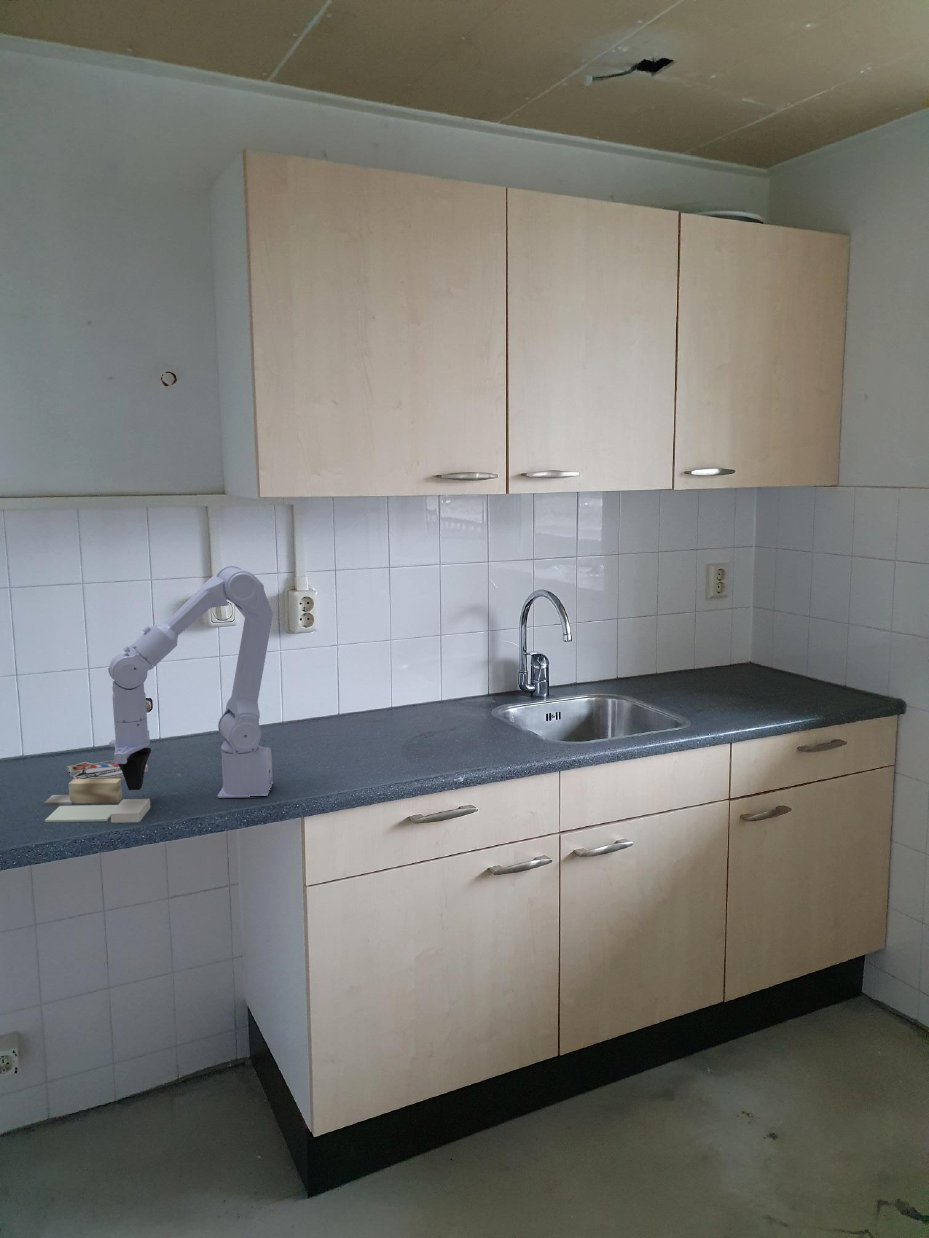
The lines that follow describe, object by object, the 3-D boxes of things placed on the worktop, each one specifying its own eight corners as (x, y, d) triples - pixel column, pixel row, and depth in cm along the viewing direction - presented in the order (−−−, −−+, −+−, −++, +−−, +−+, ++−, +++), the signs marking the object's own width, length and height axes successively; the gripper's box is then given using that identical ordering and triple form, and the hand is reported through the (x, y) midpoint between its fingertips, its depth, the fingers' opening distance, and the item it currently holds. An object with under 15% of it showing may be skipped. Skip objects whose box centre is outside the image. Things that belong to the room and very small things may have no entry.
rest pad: (119, 806, 175) (119, 804, 175) (106, 821, 168) (106, 819, 168) (60, 807, 175) (59, 805, 175) (44, 822, 168) (44, 820, 168)
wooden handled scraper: (123, 796, 181) (122, 777, 180) (116, 804, 177) (115, 784, 176) (52, 797, 180) (51, 778, 180) (44, 805, 176) (42, 785, 176)
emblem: (151, 770, 192) (72, 782, 185) (151, 778, 192) (73, 790, 185) (140, 754, 203) (66, 764, 196) (141, 761, 203) (66, 772, 196)
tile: (149, 798, 175) (138, 812, 168) (150, 809, 175) (139, 823, 168) (122, 799, 174) (110, 813, 168) (123, 809, 175) (111, 824, 168)
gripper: (121, 708, 178) (125, 775, 181) (94, 729, 164) (99, 803, 167) (158, 707, 179) (162, 775, 181) (135, 729, 164) (139, 802, 167)
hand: (135, 788), depth 174 cm, fingers closed
